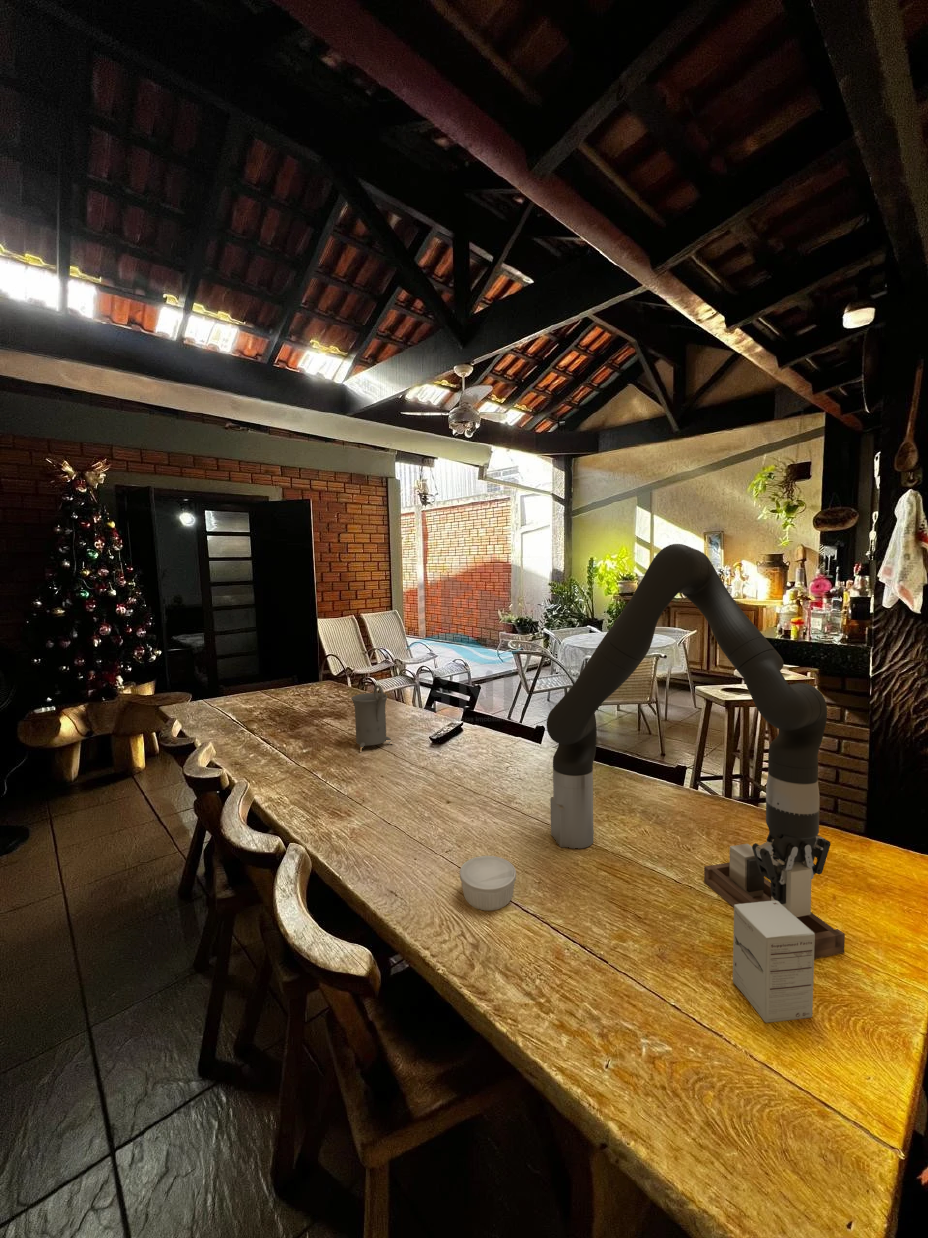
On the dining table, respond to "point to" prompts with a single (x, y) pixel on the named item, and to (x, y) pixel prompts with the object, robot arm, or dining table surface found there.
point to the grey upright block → (798, 890)
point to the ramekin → (488, 882)
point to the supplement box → (773, 960)
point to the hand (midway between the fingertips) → (790, 898)
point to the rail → (764, 895)
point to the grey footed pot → (370, 717)
